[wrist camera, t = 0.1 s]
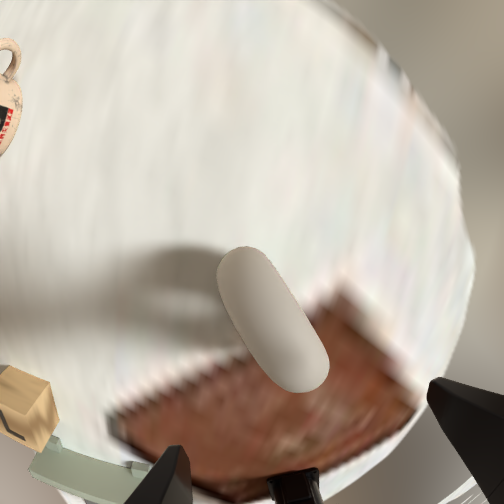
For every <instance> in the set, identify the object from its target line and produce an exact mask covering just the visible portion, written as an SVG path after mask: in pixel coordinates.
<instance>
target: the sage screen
mask: <svg viewBox="0 0 504 504" xmlns="http://www.w3.org/2000/svg"><path fill="white" fill-rule="evenodd" d="M28 469H29V472H30V473H31V475H32V476H33V478H35V479H37V480H40V481H42V482H44V483H46V484H48V485H50V486H53V487H55V488H57V489H60V490H62V491H65V492H67V493H70V494H72V495H75V496H78V497H80V498H83V499H86V500H89V501H92V502H95V503H98V504H123V503H124V502H125V501H126V500H127V499H128V497H129V496H130V495H131V494H132V492H133V491H134V490H135V489H136V487H137V486H138V485H139V484H140V482H141V481H142V480H143V479H144V477H145V476H146V475H147V474H148V472H149V471H150V468H149V465H148V464H143V463H138V462H134V461H133V463H132V467H131V469H130V468H126V467H122V466H118V465H114V464H111V463H107V462H104V461H100V460H97V459H94V458H91V457H88V456H85V455H82V454H79V453H76V452H73V451H70V450H68V449H65V448H63V447H62V444H61V442H60V439H59V438H57V437H55V436H52V435H51V436H50V438H49V440H48V442H47V443H46V445H45V447H44V449H43V451H42V453H40V452H37V454H36V455H35V457H34V459H33V461H32V463H31V465H30V467H29V468H28Z"/></svg>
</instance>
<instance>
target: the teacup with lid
mask: <svg viewBox="0 0 504 504" xmlns="http://www.w3.org/2000/svg"><path fill="white" fill-rule="evenodd" d="M4 49H7V50H10V51H12V54H13V56H12V61H11V63H10V65H9V67H8V68H7V70H6V71H5V72H4V74H0V156H1V155H2V154H3V153H4V151H5V150H6V149H7V147H8V146H9V144H10V142H11V141H12V139H13V137H14V135H15V132H16V130H17V127H18V124H19V121H20V117H21V112H22V93H21V89H20V87H19V85H18V83H17V82H16V81H15V80H13V79H12V77H13V76H14V75H15V73H16V72H17V70H18V68H19V66H20V63H21V51H20V48H19V46H18V44H17V43H16V42H15V41H14V40H12V39H10V38H2V39H0V51H1V50H4Z"/></svg>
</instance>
